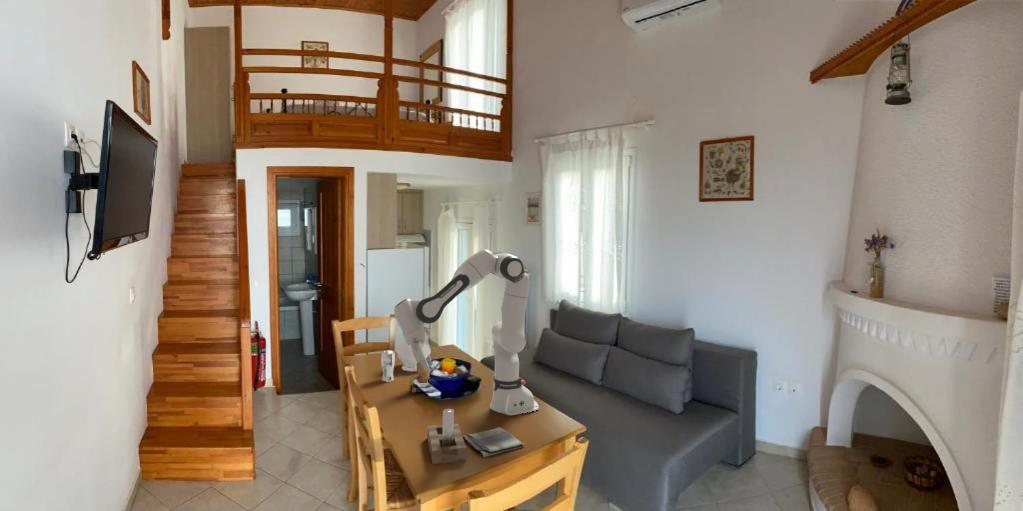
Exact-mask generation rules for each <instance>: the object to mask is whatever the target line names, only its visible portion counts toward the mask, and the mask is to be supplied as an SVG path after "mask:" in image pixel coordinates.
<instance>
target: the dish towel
mask: <svg viewBox="0 0 1023 511" xmlns="http://www.w3.org/2000/svg"><path fill="white" fill-rule="evenodd" d="M462 437H463V438H466V439H467V440H466V441H465V442H466V443H467V442H468V443H469V444H470V445H471V446H472V449H473V450H474V451H475V450H476V451H477V452H476V451H475V452H476V453H477V454H479V455H480V456H482V458H487V457H492V456H495V455H497V454H501V453H506V452H509V451H513V450H517V449H521V448H523V447H524V446H525V444H524V443H523V442H522V441H520V440H519V439H518V438H516V437H515V436H514V435H513V434H511V433H510V432H508V431H507V430H505V429H504V428H502V427H500V426H498V427H496V428H493V429H488V430H484V431H479V432H474V433H468V434H467V435H462ZM468 443H467V444H468ZM469 444H468V445H469ZM470 445H469V446H470ZM471 446H470V447H471ZM473 447H474V448H473Z"/></svg>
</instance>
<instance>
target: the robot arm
mask: <svg viewBox="0 0 1023 511" xmlns="http://www.w3.org/2000/svg"><path fill="white" fill-rule="evenodd" d="M524 269H525V267H524V264H523V260H521V259H520V258H519V257H518V256H516V255H513V254H510V253H508V252H505V253H504V252H495V253H493V252H492V251H490V250H489V249H486V248H484V249H483V248H482V249H480V250H479V251H477V252H475V253H474V254H472V255H470V257H468V258H467V259H465V261H464V262H462V263H461V264H460V265H459V267H458V268H457V269H456V270H455V272H454V273H453V276H452V278H451V280H450V281H448V283H447V284H445V285H444V287H442V288H440V290H439V291H438V292H437V293H435V294H434V295H432V296H430V297H426V298H424V299H411V298H405V299H403V300H401V301H400V302H399V303H397V304H396V305H395V307H394V309H393V311H394V316H395V319H396V321H397V324H398V326H399V328H400V329H401V330H402V336H403V338H404V339H405V341H406V343H407V345H411V349H412V351H413V354H414V357H415V359H416V361H417V363H419V362H421V364H422V366H423V367H424V369H425V371H427V370H429V369H431V368H429V367H432V366H433V362H432V358H431V355H430V354H431V353H432V350H431V346H430V343H429V341H428V336H427V334H426V332H425V330H424V327H425V326H424V325H423V324H429V325H430V324H433V323H435V322H437V321H438V320H439V319H440V318H441V315H442V314H443V311H444V309H445V308H446V306H448V305H449V304H450V303H451V302H452V301H453V300H454V299H455V298H457V296H458V295H459V296H460V294H461V293H463V292H465V291H469V290H470V289H472V288H474V287H475V286H477V285H478V284H479V283H481V281H483V280H484V279H485V278H486V277H488V275H490V274H493V275H494V276H497V277H498V278H501V279H505V280H504V281H505V288H504V292H503V293H504V294H503V297H502V302H501V308H500V310H501V311H500V312H501V320H500V321H497V322H496V323H495V324H494V325H493V326H492V329H491V335H492V341H493V344H492V345H493V353H494V376H493V381H492V389H493V393H492V398H491V402H490V405H489V408H490V410H491V411H494V412H496V413H499V414H504V415H506V416H515V415H520V414H521V415H522V413H523V414H526V413H527V412H528V413H533V412H532V411H534V412H537V411H536V410H538V409H540V407H539V406H540V405H539V404H538V402H537V401H536V400H535V399H534V395H533V393H532V392H531V390H530V389H528V388H527V387H526V386H525V385H526V381H525V379H523V378H522V377H520V375H519V373H520V372H519V370H520V360H519V355H518V353H520V352H521V351H523V349H524V348H525V347H526V342H527V341H526V334H525V333H526V332H525V327H526V326H525V325H526V323H525V322H526V320H525V319H526V317H525V316H526V312H527V311H526V310H527V307H528V306H527V305H528V299H529V296H530V295H529V294H530V284H531V283H530V276H529V274H528V273H526V272H525V270H524ZM426 337H427V338H426ZM426 361H427V362H426ZM538 411H539V410H538ZM528 413H527V414H528Z"/></svg>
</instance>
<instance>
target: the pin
mask: <svg viewBox="0 0 1023 511" xmlns="http://www.w3.org/2000/svg"><path fill="white" fill-rule="evenodd" d="M454 422H455V411H454V409H453V408H445V409H443V410H442V425H443V435H442V447H447V446H453V433H454V424H455V423H454Z"/></svg>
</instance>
